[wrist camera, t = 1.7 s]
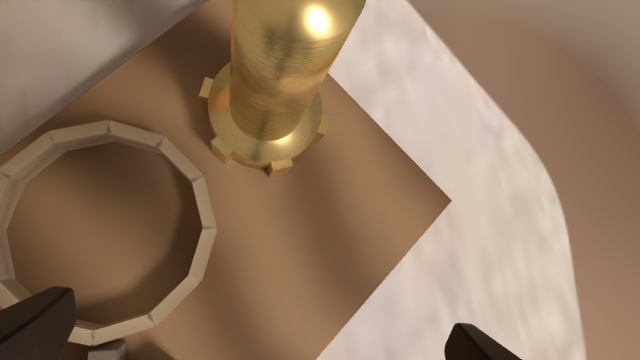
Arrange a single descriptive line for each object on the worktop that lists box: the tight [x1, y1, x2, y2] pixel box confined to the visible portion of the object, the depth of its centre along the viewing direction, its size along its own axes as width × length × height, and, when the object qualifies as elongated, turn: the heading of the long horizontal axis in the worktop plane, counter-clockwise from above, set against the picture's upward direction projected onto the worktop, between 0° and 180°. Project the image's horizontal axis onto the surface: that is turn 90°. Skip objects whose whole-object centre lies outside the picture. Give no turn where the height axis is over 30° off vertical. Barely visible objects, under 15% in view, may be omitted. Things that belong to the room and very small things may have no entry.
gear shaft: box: [199, 0, 366, 178], centre depth 17 cm, size 6×6×12 cm
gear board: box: [0, 0, 452, 360], centre depth 20 cm, size 25×18×4 cm
